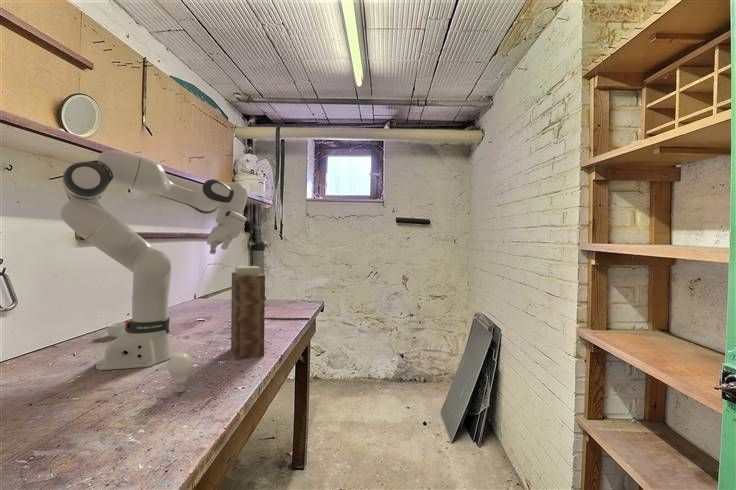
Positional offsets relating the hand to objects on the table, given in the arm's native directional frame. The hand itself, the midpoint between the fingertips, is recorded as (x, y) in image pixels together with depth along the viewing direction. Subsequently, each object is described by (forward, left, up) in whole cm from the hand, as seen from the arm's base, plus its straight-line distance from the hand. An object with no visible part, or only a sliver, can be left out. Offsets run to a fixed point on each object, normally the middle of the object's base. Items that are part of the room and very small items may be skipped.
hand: (217, 251), depth 134 cm
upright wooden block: (+10, -7, -38) cm, 40 cm away
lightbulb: (-12, -35, -38) cm, 53 cm away
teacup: (-37, +38, -38) cm, 66 cm away
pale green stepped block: (+10, 0, -8) cm, 13 cm away
